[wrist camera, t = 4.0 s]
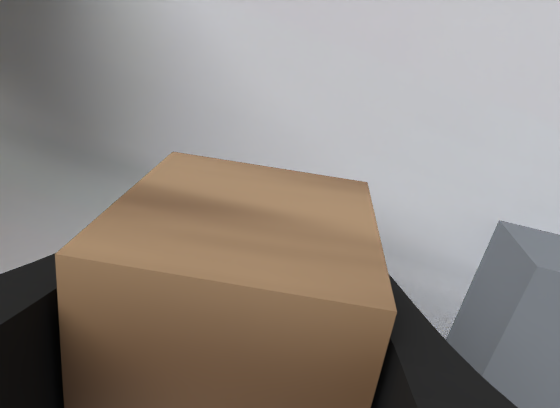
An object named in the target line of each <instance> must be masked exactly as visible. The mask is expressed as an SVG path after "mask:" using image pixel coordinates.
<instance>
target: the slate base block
mask: <svg viewBox="0 0 560 408" xmlns="http://www.w3.org/2000/svg"><path fill="white" fill-rule="evenodd" d="M446 341H447V342H448V343H449V344H450V345H451V346H452V347H453V348H454V349H455V350H456V351H457V352H458V353H459V354H460V355H461V356H462V357H463V358H464V359H465V360H466V361H467V362H468V363H469V364H470V365H471V366H472V367H473V368H474V369H475V370H476V371H477V372H478V373H479V374H480V375H481V376H482V377H483V378H484V379H486V380H487V381H488V382H489V383H490V384H491V385H492V386H493V387H494V388H496V389H497V390H498V391H499V392H500V393H501V394H503V395H504V396H505V397H506V398H507V399H508V400H510V401H511V402H512V403H513V404H514V405H515V406H517V407H518V408H560V235H558V234H554V233H550V232H546V231H541V230H537V229H533V228H529V227H525V226H520V225H516V224H512V223H508V222H504V221H499V222H498V224H497V227H496V229H495V231H494V233H493V236H492V238H491V240H490V242H489V245H488V247H487V249H486V251H485V253H484V256H483V258H482V260H481V262H480V265H479V267H478V269H477V271H476V274H475V276H474V278H473V280H472V283H471V285H470V287H469V289H468V292H467V294H466V296H465V298H464V301H463V303H462V305H461V307H460V310H459V312H458V314H457V316H456V319H455V321H454V323H453V325H452V327H451V330H450V332H449V334H448V336H447V339H446Z"/></svg>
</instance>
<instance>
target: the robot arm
mask: <svg viewBox="0 0 560 408" xmlns="http://www.w3.org/2000/svg"><path fill="white" fill-rule="evenodd" d="M55 254H56V253H55ZM55 254H52V255H50V256H47V257H45V258H43V259H40V260H38V261H35V262H32V263H30V264H27V265H24V266H21V267H19V268H16V269H13V270H10V271H8V272H5V273H2V274H0V408H64V396H63V380H62V363H61V347H60V330H59V313H58V297H57V280H56V264H55ZM388 275H389V274H388ZM389 279H390V283H391V288H392V292H393V296H394V301H395V305H396V309H397V314H396V317H395V321H394V325H393V328H392V332H391V336H390V339H389V343H388V346H387V350H386V354H385V357H384V361H383V365H382V368H381V372H380V376H379V379H378V383H377V386H376V390H375V394H374V397H373V401H372V405H371V408H518V407H517V406H515V405H514V404H513V403H512V402H511V401H510V400H508V399H507V398H506V397H505V396H504V395H503V394H501V393H500V392H499V391H498V390H497V389H496V388H494V387H493V386H492V385H491V384H490V383H489V382H488V381H487V380H486V379H484V378H483V377H482V376H481V375H480V374H479V373H478V372H477V371H476V370H475V369H474V368H473V367H472V366H471V365H470V364H469V363H468V362H467V361H466V360H465V359H464V358H463V357H462V356H461V355H460V354H459V353H458V352H457V351H456V350H455V349H454V348H453V347H452V346H451V345H450V344H449V343H448V342H447V341H446V340H445V339H444V338H443V337H442V336H441V334H440V333H439V332H438V331H437V330H436V329H435V328H434V327H433V326H432V324H431V323H430V322H429V321H428V320H427V319H426V318H425V316H424V315H423V314H422V313H421V312H420V311H419V309H418V308H417V307H416V306H415V305H414V304H413V302H412V301H411V300H410V299H409V298H408V296H407V295H406V294H405V293H404V292H403V290H402V289H401V288H400V287H399V285H398V284H397V283H396V282H395V281H394V280H393V278H392V277H391V276H390V275H389Z"/></svg>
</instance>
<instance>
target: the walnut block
mask: <svg viewBox="0 0 560 408" xmlns="http://www.w3.org/2000/svg"><path fill="white" fill-rule="evenodd" d="M55 264H56V280H57V297H58V313H59V330H60V347H61V363H62V380H63V396H64V408H371V405H372V401H373V397H374V394H375V390H376V386H377V383H378V379H379V376H380V372H381V368H382V365H383V361H384V357H385V354H386V350H387V346H388V343H389V339H390V336H391V332H392V328H393V325H394V321H395V317H396V314H397V309H396V305H395V301H394V296H393V292H392V288H391V283H390V279H389V275H388V270H387V266H386V262H385V257H384V253H383V249H382V244H381V240H380V236H379V231H378V227H377V223H376V218H375V214H374V210H373V205H372V201H371V197H370V192H369V188H368V184H367V182H362V181H355V180H349V179H343V178H336V177H330V176H324V175H317V174H311V173H305V172H298V171H292V170H286V169H279V168H273V167H267V166H260V165H254V164H247V163H241V162H235V161H228V160H222V159H216V158H209V157H203V156H197V155H190V154H184V153H178V152H172V153H171V154H170V155H168V156H167V157H166V158H165V159H164V160H163V161H162V162H160V163H159V164H158V165H157V166H156V167H155V168H153V169H152V170H151V171H150V172H149V173H148V174H147V175H145V176H144V177H143V178H142V179H141V180H140V181H139V182H137V183H136V184H135V185H134V186H133V187H132V188H130V189H129V190H128V191H127V192H126V193H125V194H124V195H122V196H121V197H120V198H119V199H118V200H117V201H116V202H114V203H113V204H112V205H111V206H110V207H109V208H107V209H106V210H105V211H104V212H103V213H102V214H101V215H99V216H98V217H97V218H96V219H95V220H94V221H92V222H91V223H90V224H89V225H88V226H87V227H86V228H84V229H83V230H82V231H81V232H80V233H79V234H78V235H76V236H75V237H74V238H73V239H72V240H71V241H69V242H68V243H67V244H66V245H65V246H64V247H63V248H61V249H60V250H59V251H58V252H57V253H56V254H55Z"/></svg>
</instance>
